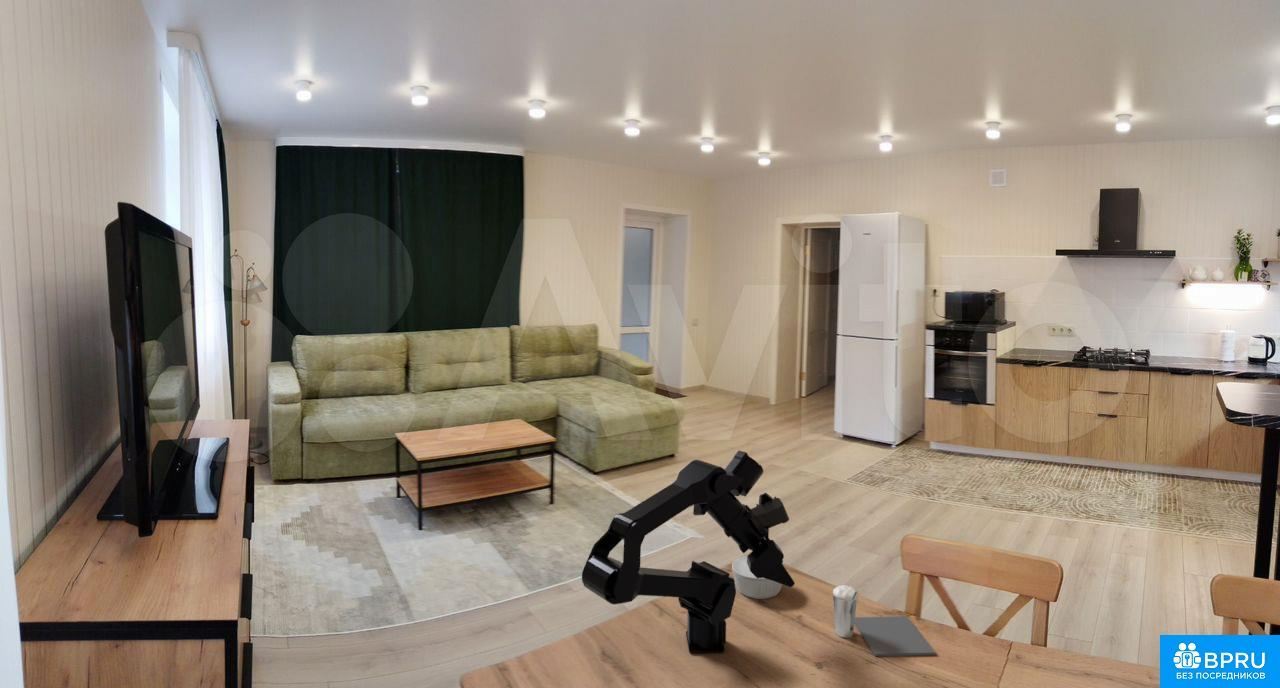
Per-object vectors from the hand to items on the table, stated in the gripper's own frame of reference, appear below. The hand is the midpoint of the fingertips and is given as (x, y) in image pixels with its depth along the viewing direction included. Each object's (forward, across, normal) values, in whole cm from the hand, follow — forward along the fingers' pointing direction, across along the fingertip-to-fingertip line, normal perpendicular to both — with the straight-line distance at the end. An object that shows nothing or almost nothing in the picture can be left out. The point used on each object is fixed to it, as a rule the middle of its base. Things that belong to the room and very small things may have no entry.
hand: (786, 573), depth 123 cm
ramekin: (+8, +19, +10) cm, 22 cm away
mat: (+23, 0, -6) cm, 24 cm away
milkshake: (+17, +1, 0) cm, 17 cm away
